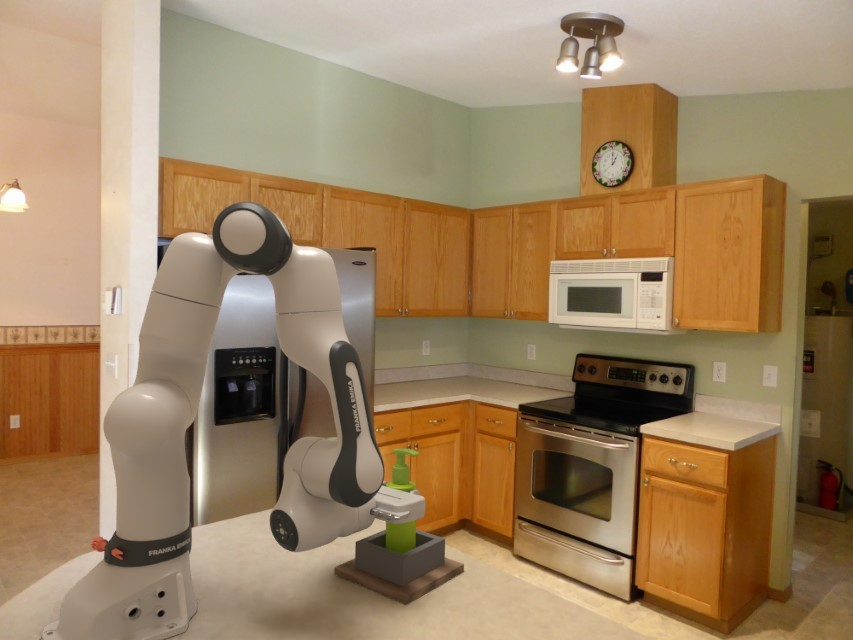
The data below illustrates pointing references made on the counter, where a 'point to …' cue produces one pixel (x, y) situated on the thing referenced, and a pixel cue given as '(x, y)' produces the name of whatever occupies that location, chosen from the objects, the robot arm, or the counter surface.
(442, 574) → the collar board
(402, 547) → the soap dispenser
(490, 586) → the counter surface
